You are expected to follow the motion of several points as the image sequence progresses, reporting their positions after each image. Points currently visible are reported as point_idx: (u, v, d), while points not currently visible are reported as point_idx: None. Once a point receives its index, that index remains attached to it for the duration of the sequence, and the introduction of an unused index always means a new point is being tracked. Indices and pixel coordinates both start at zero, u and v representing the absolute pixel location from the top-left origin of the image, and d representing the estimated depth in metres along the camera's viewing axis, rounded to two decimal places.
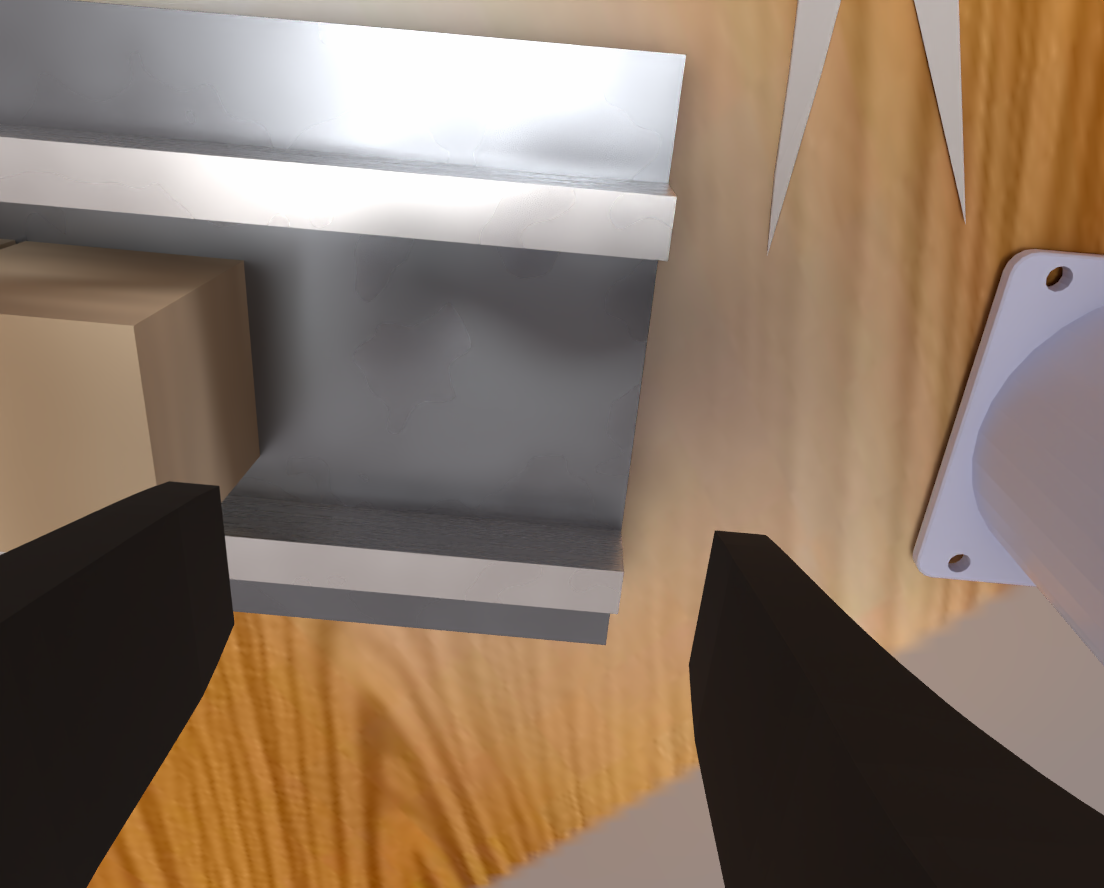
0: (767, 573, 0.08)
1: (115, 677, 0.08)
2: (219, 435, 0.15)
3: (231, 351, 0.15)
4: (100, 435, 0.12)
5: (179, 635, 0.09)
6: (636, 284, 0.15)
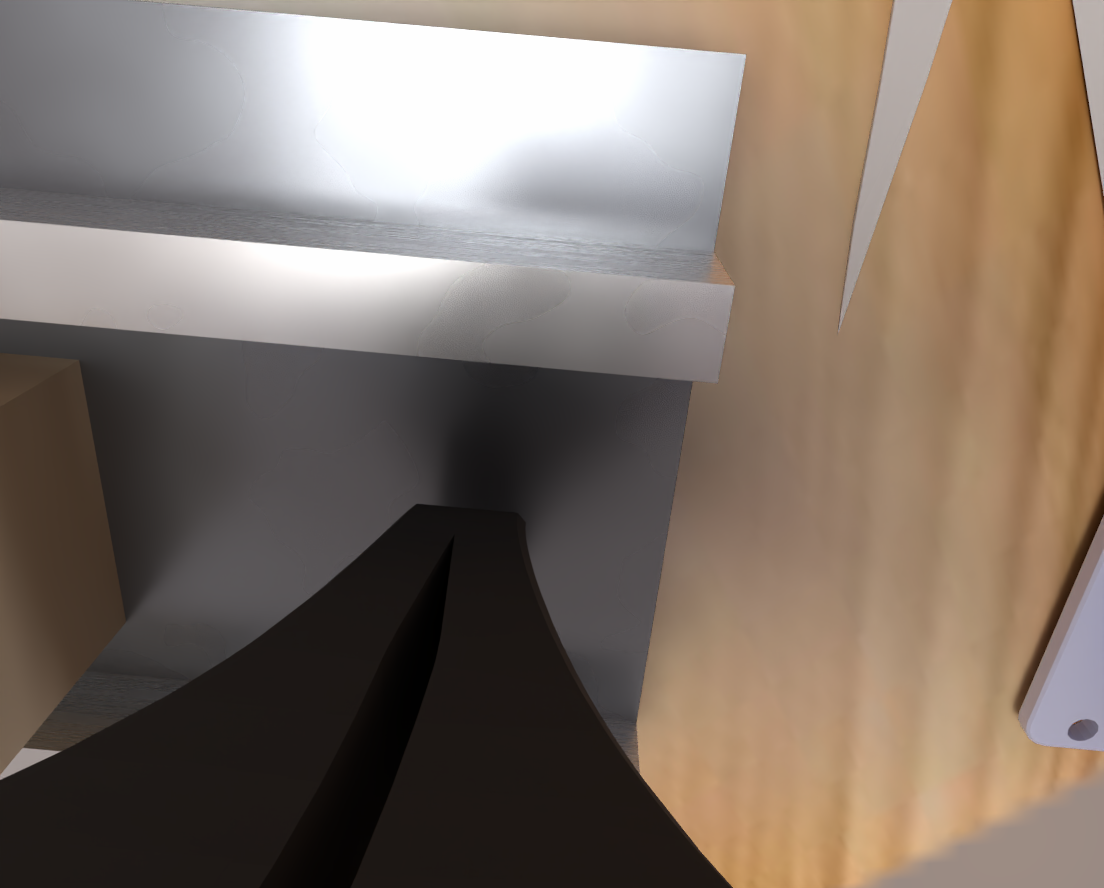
0: (479, 547, 0.08)
1: (418, 704, 0.08)
2: (36, 627, 0.10)
3: (56, 497, 0.10)
4: None
5: None
6: (662, 397, 0.10)
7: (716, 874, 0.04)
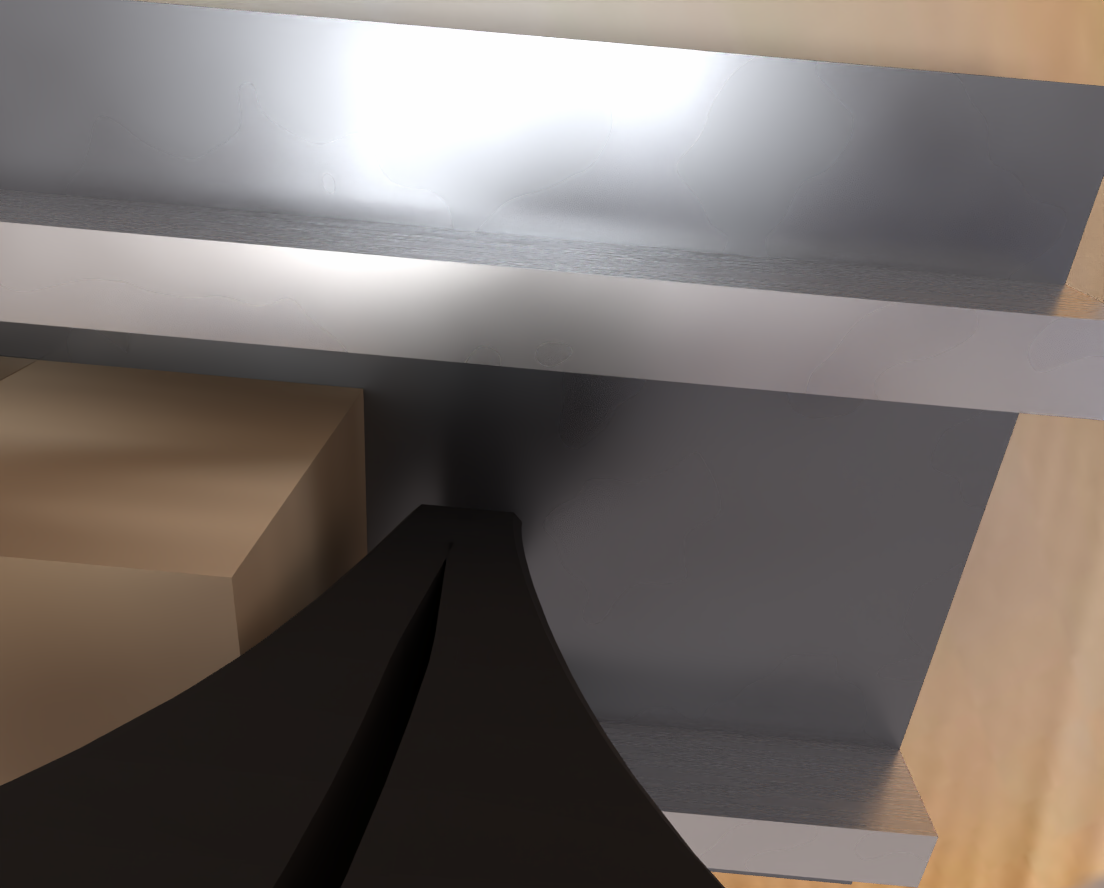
0: (475, 546, 0.08)
1: None
2: None
3: (347, 528, 0.10)
4: None
5: None
6: (985, 428, 0.10)
7: (707, 873, 0.04)
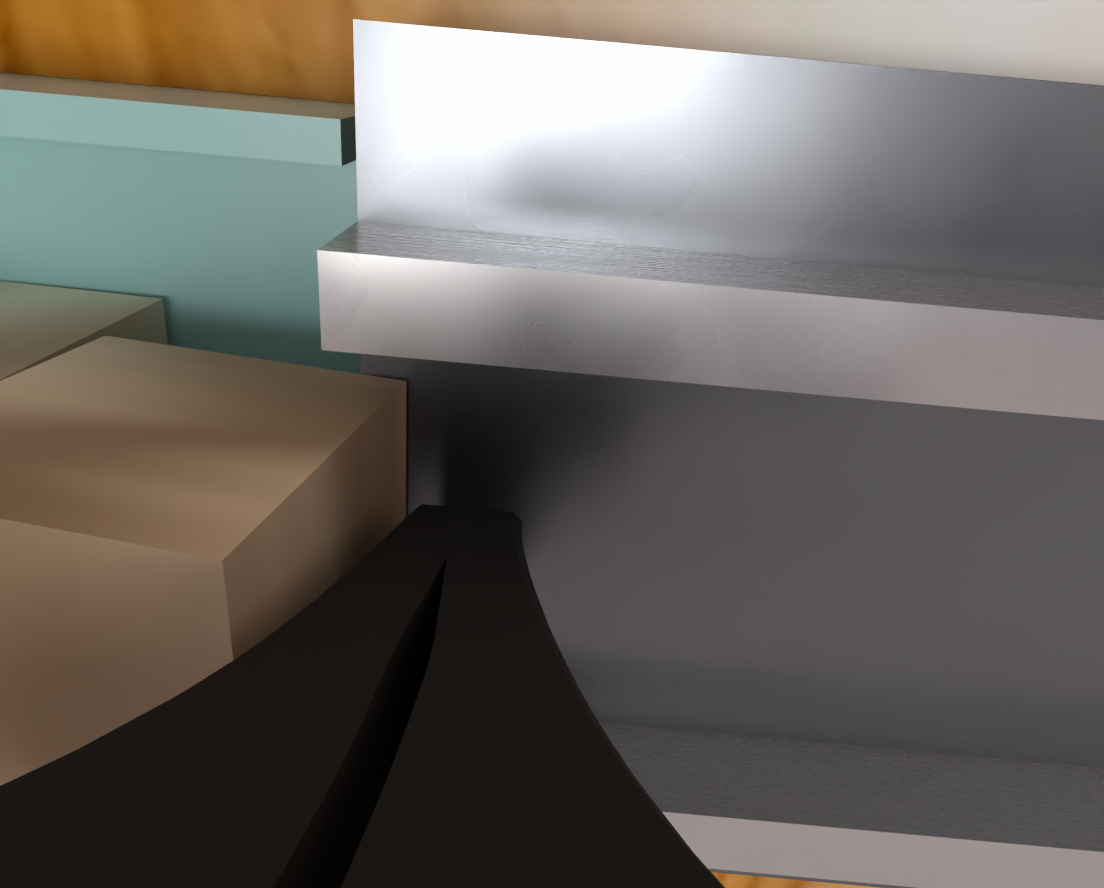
0: (475, 546, 0.08)
1: None
2: None
3: (379, 521, 0.10)
4: None
5: None
6: None
7: (707, 873, 0.04)
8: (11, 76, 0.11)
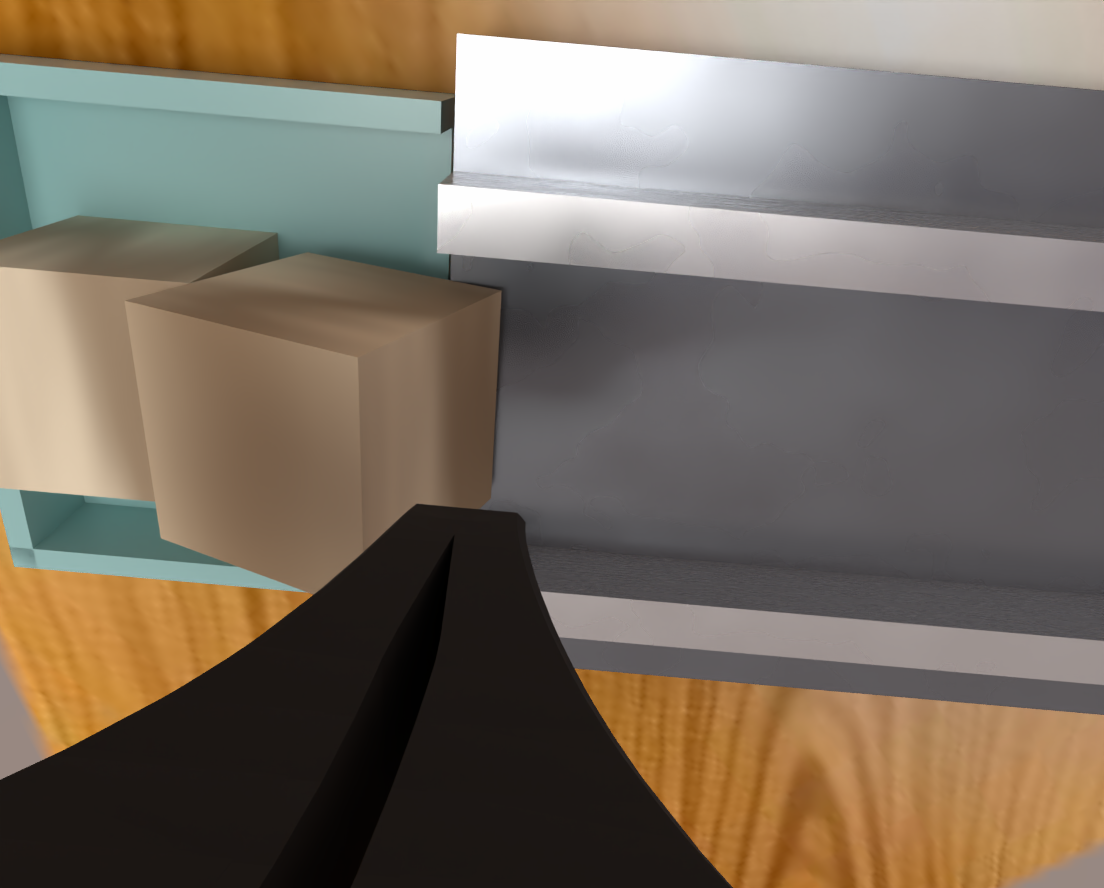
0: (479, 547, 0.08)
1: (418, 705, 0.08)
2: (446, 476, 0.13)
3: (472, 387, 0.14)
4: (316, 466, 0.11)
5: None
6: None
7: (716, 874, 0.04)
8: (189, 72, 0.15)
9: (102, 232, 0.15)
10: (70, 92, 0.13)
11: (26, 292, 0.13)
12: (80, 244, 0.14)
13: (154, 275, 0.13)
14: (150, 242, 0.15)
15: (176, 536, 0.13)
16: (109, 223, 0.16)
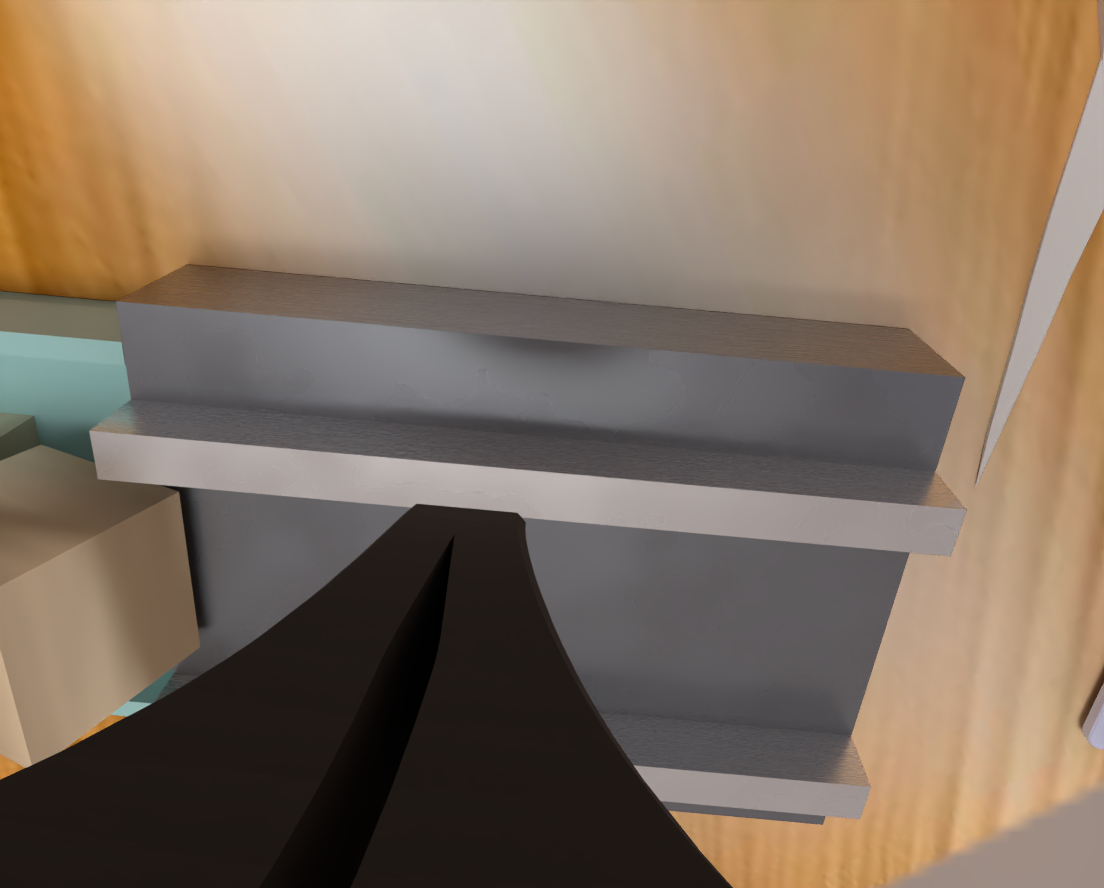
0: (479, 547, 0.08)
1: (418, 704, 0.08)
2: (128, 646, 0.16)
3: (152, 572, 0.17)
4: None
5: None
6: None
7: (716, 874, 0.04)
8: None
9: None
10: None
11: None
12: None
13: None
14: None
15: None
16: None
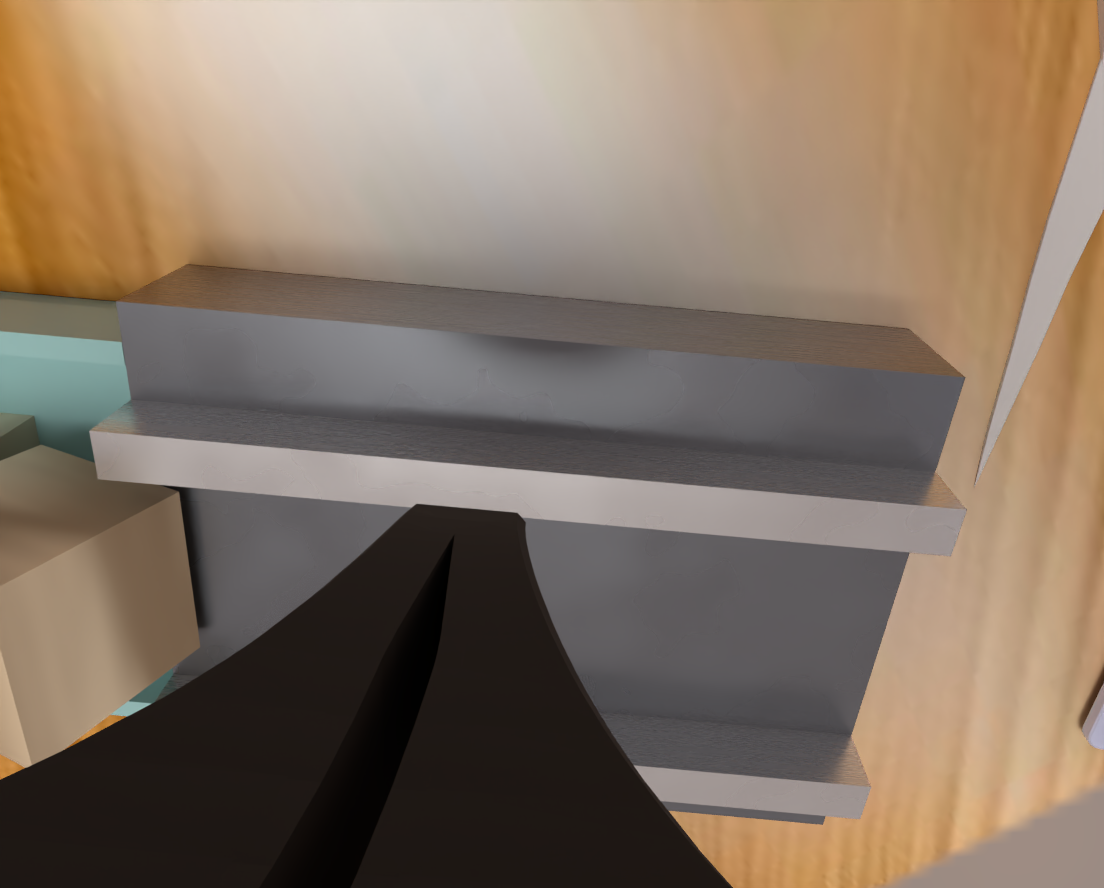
0: (479, 547, 0.08)
1: (418, 704, 0.08)
2: (128, 646, 0.16)
3: (152, 572, 0.17)
4: None
5: None
6: None
7: (716, 874, 0.04)
8: None
9: None
10: None
11: None
12: None
13: None
14: None
15: None
16: None
